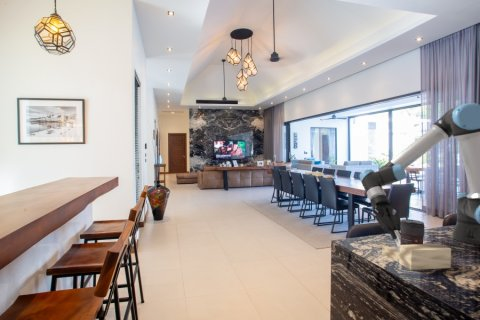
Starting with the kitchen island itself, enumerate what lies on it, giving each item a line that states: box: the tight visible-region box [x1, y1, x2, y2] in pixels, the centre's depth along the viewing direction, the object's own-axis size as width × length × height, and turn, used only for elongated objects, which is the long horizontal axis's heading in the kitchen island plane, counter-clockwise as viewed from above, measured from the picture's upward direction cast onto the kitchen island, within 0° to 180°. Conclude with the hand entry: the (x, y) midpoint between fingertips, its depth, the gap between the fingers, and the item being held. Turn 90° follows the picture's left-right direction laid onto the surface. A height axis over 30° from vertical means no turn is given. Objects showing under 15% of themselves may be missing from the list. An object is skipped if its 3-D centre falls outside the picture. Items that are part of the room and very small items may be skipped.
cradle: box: [381, 243, 452, 271], centre depth 110 cm, size 17×16×7 cm
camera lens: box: [400, 218, 425, 245], centre depth 111 cm, size 8×8×15 cm
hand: (401, 246), depth 116 cm, fingers closed
